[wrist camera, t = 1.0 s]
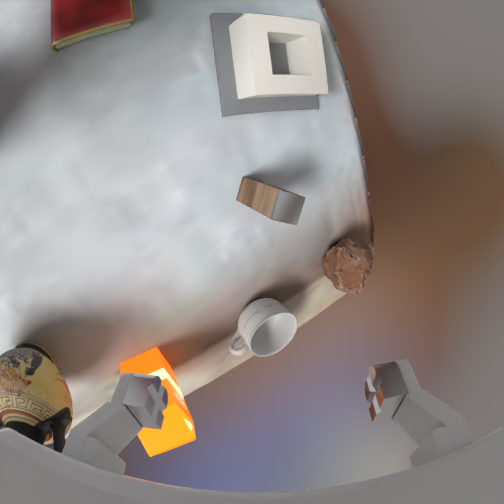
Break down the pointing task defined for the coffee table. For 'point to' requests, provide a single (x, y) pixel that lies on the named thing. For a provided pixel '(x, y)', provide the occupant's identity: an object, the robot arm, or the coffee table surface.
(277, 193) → the wooden square peg
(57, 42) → the hardcover book
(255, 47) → the well block
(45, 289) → the coffee table surface
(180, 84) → the coffee table surface
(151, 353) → the orange juice
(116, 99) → the coffee table surface
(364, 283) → the decorative rock
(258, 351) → the teacup
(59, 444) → the amphora
